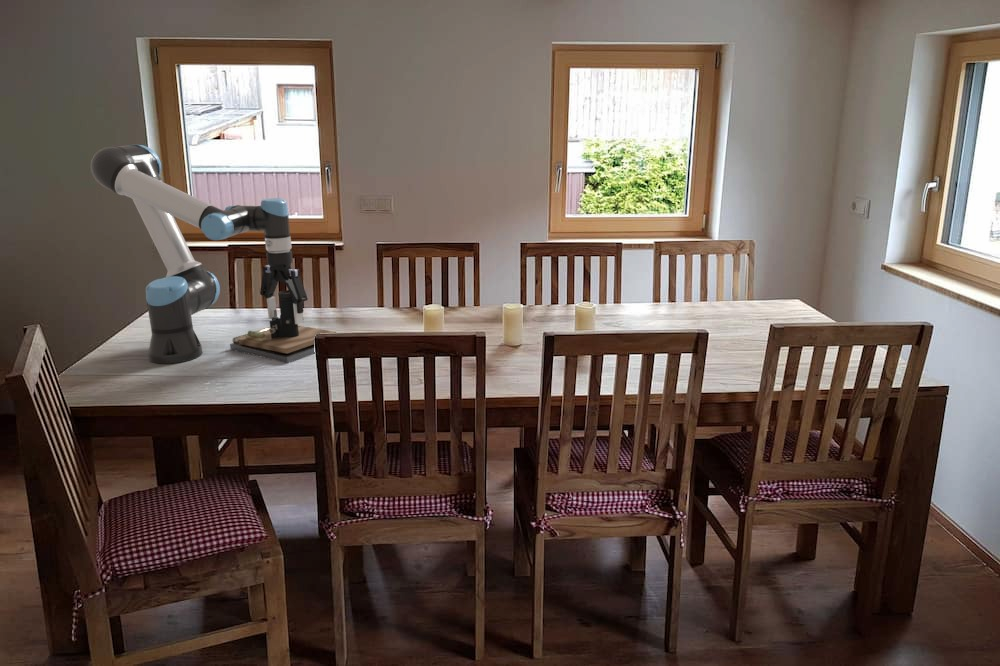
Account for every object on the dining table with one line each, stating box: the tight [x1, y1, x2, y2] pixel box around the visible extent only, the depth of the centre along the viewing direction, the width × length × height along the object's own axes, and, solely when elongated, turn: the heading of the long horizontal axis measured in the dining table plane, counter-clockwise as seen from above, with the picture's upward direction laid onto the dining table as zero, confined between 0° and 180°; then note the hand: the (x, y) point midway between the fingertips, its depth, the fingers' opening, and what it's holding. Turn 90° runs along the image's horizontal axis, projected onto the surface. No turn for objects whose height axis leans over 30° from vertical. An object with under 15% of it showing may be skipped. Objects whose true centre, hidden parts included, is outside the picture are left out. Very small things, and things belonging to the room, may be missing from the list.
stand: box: [229, 326, 316, 364], centre depth 249 cm, size 26×22×4 cm
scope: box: [269, 289, 304, 338], centre depth 245 cm, size 8×14×10 cm
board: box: [238, 325, 337, 354], centre depth 248 cm, size 22×20×4 cm
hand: (285, 320), depth 246 cm, fingers open, 11 cm apart
